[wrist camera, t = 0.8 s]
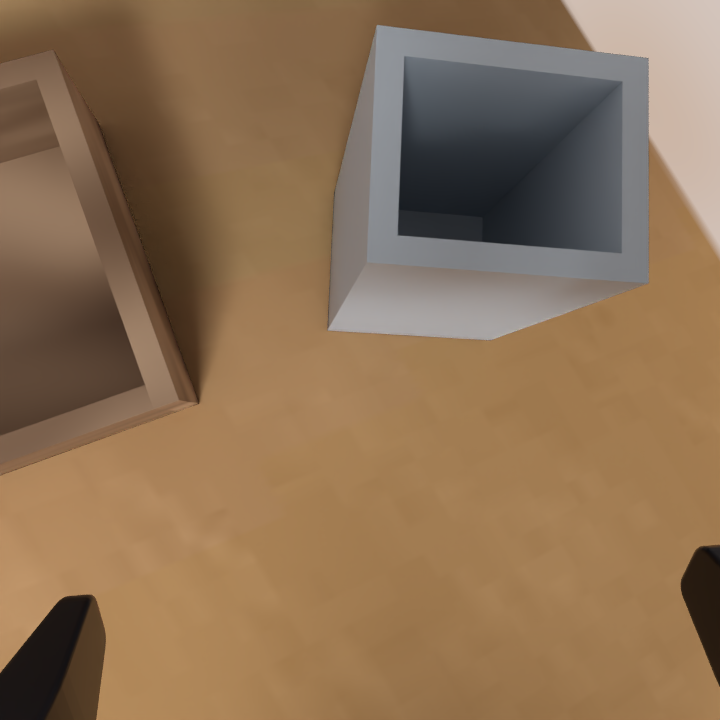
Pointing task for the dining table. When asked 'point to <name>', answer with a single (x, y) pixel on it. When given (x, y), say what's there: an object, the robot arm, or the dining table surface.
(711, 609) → the robot arm
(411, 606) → the dining table surface
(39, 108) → the big crate
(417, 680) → the dining table surface
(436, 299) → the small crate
